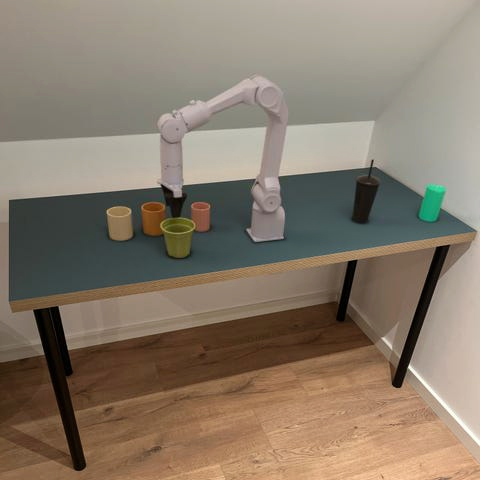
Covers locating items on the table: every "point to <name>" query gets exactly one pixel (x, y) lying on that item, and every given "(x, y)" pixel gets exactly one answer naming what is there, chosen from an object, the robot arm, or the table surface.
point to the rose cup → (200, 216)
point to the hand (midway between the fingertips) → (173, 211)
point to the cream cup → (120, 223)
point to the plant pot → (178, 236)
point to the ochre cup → (153, 218)
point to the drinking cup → (364, 196)
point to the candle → (432, 202)
